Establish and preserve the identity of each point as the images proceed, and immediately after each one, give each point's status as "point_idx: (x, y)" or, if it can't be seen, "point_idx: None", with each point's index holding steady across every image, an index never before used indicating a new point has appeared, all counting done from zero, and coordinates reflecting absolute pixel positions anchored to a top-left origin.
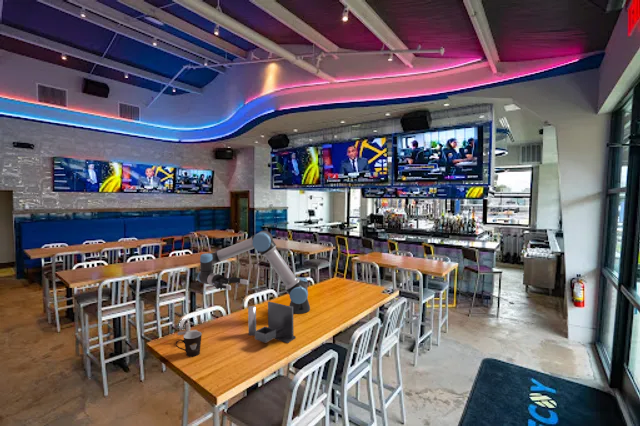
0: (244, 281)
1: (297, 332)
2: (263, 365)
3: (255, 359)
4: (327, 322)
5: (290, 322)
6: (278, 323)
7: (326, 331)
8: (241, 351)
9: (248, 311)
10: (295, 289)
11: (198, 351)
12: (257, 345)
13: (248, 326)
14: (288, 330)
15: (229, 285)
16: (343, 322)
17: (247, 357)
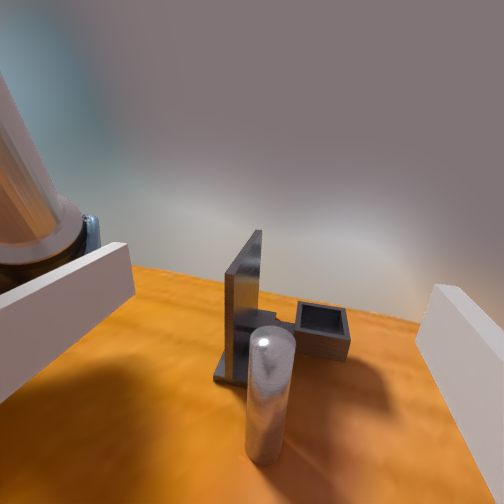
0: (89, 287)
1: (206, 316)
2: (392, 324)
3: (391, 347)
4: (134, 283)
5: (258, 274)
6: (246, 312)
7: (189, 278)
8: (399, 403)
9: (290, 367)
10: (97, 227)
11: None
12: (331, 376)
13: (278, 435)
14: (255, 300)
15: (459, 295)
16: (136, 266)
17: (404, 368)
